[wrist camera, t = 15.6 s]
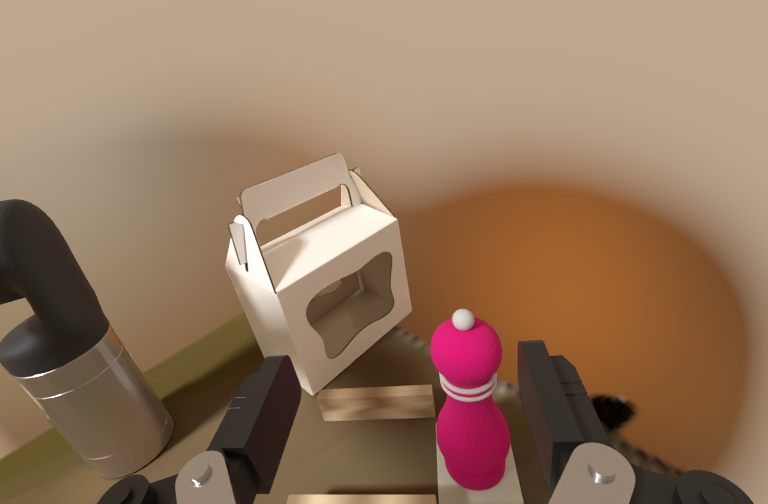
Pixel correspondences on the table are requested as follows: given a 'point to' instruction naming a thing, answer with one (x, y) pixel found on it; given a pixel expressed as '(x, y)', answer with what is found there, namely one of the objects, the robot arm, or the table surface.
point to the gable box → (319, 271)
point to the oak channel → (371, 407)
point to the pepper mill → (470, 401)
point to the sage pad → (499, 500)
